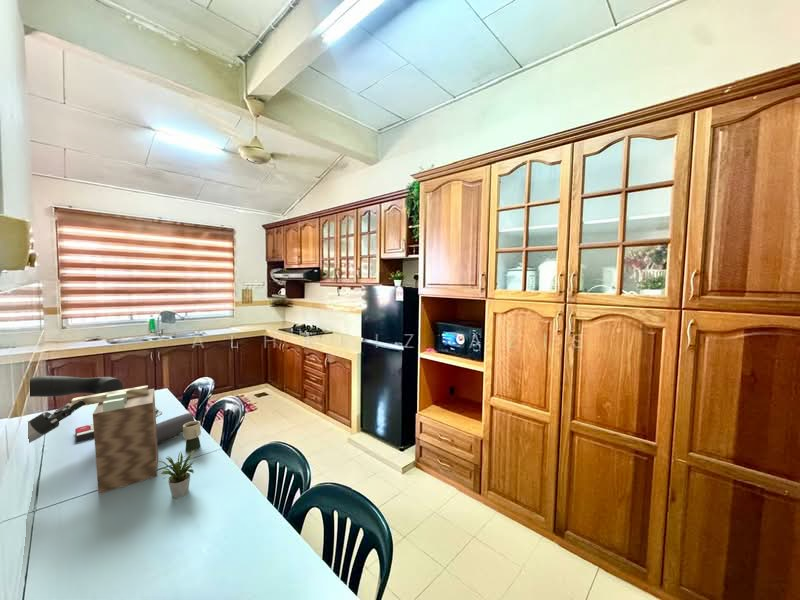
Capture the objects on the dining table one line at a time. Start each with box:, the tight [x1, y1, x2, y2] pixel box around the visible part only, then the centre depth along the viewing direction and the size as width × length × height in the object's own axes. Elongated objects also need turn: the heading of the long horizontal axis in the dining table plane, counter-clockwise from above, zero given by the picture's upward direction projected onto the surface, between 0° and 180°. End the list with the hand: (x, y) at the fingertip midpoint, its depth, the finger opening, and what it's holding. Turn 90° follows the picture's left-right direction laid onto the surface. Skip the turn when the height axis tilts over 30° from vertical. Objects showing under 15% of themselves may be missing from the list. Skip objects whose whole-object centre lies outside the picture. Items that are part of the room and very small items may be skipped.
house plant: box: [154, 449, 197, 499], centre depth 119 cm, size 14×14×16 cm
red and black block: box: [74, 423, 94, 444], centre depth 169 cm, size 11×4×15 cm
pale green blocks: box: [103, 392, 127, 412], centre depth 127 cm, size 6×12×4 cm, turn 37°
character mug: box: [182, 420, 202, 453], centre depth 152 cm, size 11×7×13 cm, turn 58°
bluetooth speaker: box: [156, 412, 195, 445], centre depth 163 cm, size 23×9×10 cm, turn 154°
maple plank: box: [71, 385, 149, 407], centre depth 134 cm, size 24×4×3 cm, turn 130°
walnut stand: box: [92, 388, 159, 495], centre depth 134 cm, size 18×22×32 cm
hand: (86, 398), depth 129 cm, fingers open, 8 cm apart
